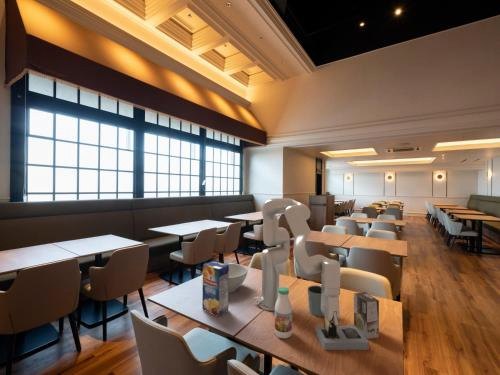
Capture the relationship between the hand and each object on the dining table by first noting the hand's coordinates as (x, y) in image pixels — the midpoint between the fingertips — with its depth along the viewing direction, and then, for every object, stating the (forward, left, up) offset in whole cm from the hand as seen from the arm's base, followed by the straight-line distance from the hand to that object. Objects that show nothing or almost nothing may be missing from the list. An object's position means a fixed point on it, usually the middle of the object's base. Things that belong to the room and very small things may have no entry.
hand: (330, 331), depth 99 cm
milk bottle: (-19, +5, -4) cm, 20 cm away
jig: (+5, 0, -4) cm, 6 cm away
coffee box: (+19, +6, -4) cm, 20 cm away
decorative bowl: (-48, +51, -4) cm, 70 cm away
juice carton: (-52, +25, -4) cm, 58 cm away
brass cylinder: (0, 0, -2) cm, 2 cm away
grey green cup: (+2, +23, -4) cm, 23 cm away
